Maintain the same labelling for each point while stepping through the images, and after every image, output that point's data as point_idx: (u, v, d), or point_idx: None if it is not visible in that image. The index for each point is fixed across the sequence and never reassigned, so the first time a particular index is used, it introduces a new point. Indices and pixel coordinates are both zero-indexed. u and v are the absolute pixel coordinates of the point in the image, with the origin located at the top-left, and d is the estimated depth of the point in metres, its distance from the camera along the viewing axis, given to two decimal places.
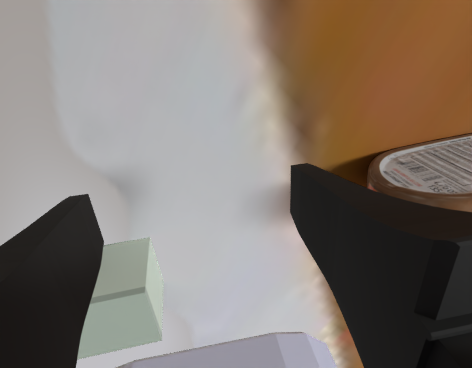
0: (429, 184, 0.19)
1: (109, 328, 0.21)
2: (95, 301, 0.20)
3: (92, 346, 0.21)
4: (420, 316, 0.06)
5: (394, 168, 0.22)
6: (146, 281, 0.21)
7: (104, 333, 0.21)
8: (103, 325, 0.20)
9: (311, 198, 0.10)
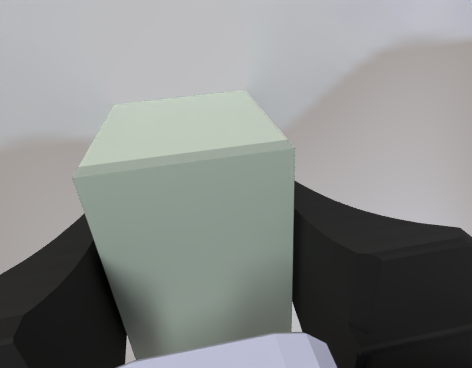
0: None
1: (207, 264, 0.08)
2: None
3: (260, 296, 0.09)
4: (353, 330, 0.06)
5: None
6: (91, 155, 0.07)
7: (222, 274, 0.08)
8: (193, 274, 0.08)
9: None
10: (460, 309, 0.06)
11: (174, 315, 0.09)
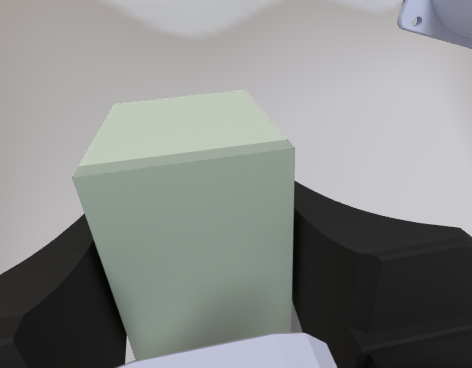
0: None
1: (207, 264, 0.08)
2: None
3: (259, 296, 0.09)
4: (353, 330, 0.06)
5: None
6: (91, 155, 0.07)
7: (222, 274, 0.08)
8: (193, 274, 0.08)
9: None
10: (460, 309, 0.06)
11: (174, 315, 0.09)
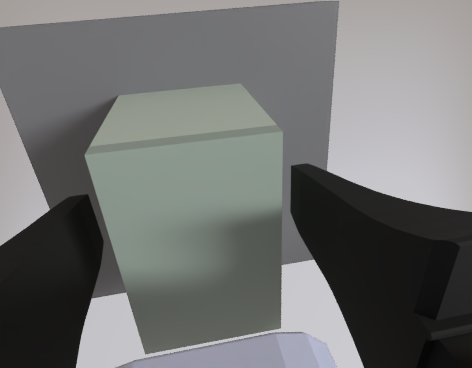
0: None
1: (203, 238, 0.09)
2: None
3: (252, 270, 0.10)
4: (420, 316, 0.06)
5: None
6: (100, 137, 0.08)
7: (217, 248, 0.09)
8: (191, 248, 0.09)
9: (312, 198, 0.10)
10: None
11: (173, 286, 0.10)
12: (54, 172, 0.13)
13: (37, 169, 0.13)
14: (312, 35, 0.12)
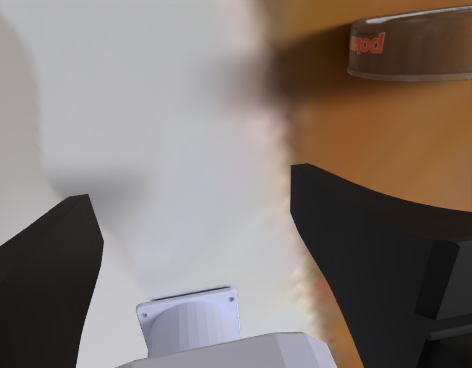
0: None
1: None
2: None
3: None
4: (420, 316, 0.06)
5: None
6: None
7: None
8: None
9: (312, 198, 0.10)
10: None
11: None
12: None
13: None
14: None
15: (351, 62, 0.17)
